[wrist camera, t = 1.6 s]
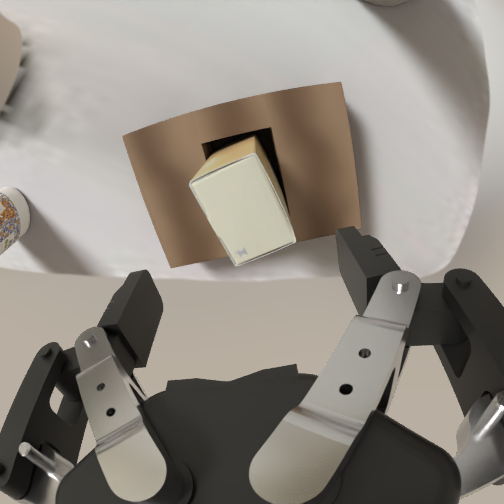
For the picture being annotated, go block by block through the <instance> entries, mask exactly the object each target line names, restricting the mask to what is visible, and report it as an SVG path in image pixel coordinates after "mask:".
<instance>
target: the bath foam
mask: <svg viewBox="0 0 504 504" xmlns="http://www.w3.org/2000/svg"><path fill="white" fill-rule="evenodd" d="M29 224H30V212H29V207H28V204H27V202H26V200H25V198H24V197H23V195H22V194H21V193H20V192H19V191H18V190H17V189H15V188H13V187H3V188H1V189H0V255H1V254H2V253H3V252H4V251H6V250H7V249H8V248H9V247H10V246H11V245H12V244H13V243H15V242H16V241H17V240H18V239H19V238H20V237H21V236H22V235H24V234H25V232H26V231H27V229H28V227H29Z"/></svg>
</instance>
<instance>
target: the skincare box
mask: <svg viewBox="0 0 504 504" xmlns="http://www.w3.org/2000/svg"><path fill="white" fill-rule="evenodd" d="M189 186H190V188H191V190H192V192H193V194H194V195H195V197H196V199H197V201H198V203H199V205H200V206H201V208H202V210H203V212H204V213H205V215H206V217H207V219H208V221H209V223H210V224H211V226H212V228H213V230H214V231H215V233H216V235H217V236H218V238H219V239H220V241H221V243H222V245H223V247H224V248H225V250H226V252H227V253H228V255H229V257H230V258H231V260H232V262H233V264H234V265H235V266H240V265H243V264H245V263H248V262H251V261H253V260H255V259H258V258H261V257H263V256H266V255H268V254H271V253H273V252H275V251H278V250H280V249H282V248H285V247H286V246H289V245H291V244H293V243H295V242H296V237H295V234H294V231H293V227H292V224H291V220H290V217H289V213H288V210H287V206H286V203H285V199H284V196H283V192H282V189H281V186H280V183H279V181H278V178H277V176H276V173H275V171H274V169H273V166H272V164H271V162H270V160H269V158H268V156H267V154H266V152H265V150H264V148H263V146H262V144H261V142H260V140H259V138H258V136H257V134H256V133H255V132H253V133H250V134H248V135H245V136H243V137H241V138H238V139H236V140H234V141H232V142H229V143H227V144H225V145H223V146H221V147H219V148H217V149H216V150H215V151H214V152H213V153H212V155H211V156H210V157H209V158H208V160H207V161H206V162H205V163H204V165H203V166H202V167H201V168H200V170H199V171H198V172H197V173H196V175H195V176H194V177H193V178H192V180H191V181H190V182H189Z"/></svg>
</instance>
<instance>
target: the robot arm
mask: <svg viewBox="0 0 504 504" xmlns="http://www.w3.org/2000/svg"><path fill="white" fill-rule="evenodd" d="M364 1H367V2H370V3H372V4H376V5H381V6H394V5H399V4H401V3H403V2H406V1H408V0H364ZM336 240H337V250H338V261H339V268H340V272H341V276H342V278H343V280H344V283H345V285H346V287H347V289H348V291H349V294H350V296H351V298H352V300H353V302H354V305H355V307H356V309H357V311H358V314H359V315H356V316H355V317H354V318H353V320H352V321H351V323H350V324H349V326H348V328H347V330H346V332H345V333H344V335H343V337H342V339H341V340H340V342H339V344H338V345H337V347H336V349H335V350H334V352H333V354H332V356H331V357H330V359H329V360H328V362H327V364H326V365H325V367H324V368H323V370H322V372H321V373H320V375H319V376H317V375H313V374H302V373H298V370H297V365H296V364H293V365H287V366H282V367H276V368H271V369H264V370H261V371H258V372H255V373H252V374H250V375H247V376H244V377H241V378H238V379H235V380H232V381H227V382H226V381H216V380H206V379H198V378H195V379H183V380H171V381H168V383H167V387H166V391H163V392H160V393H157V394H155V395H153V396H152V397H150V398H148V396H147V395H146V393H145V391H144V390H143V388H142V386H141V384H140V382H139V381H138V379H137V377H136V376H135V374H134V373H133V369H134V368H140V367H141V368H142V367H146V364H147V360H148V357H149V354H150V351H151V347H152V343H153V341H154V337H155V334H156V331H157V328H158V325H159V322H160V319H161V316H162V312H163V303H162V299H161V296H160V294H159V292H158V290H157V288H156V286H155V284H154V282H153V279H152V277H151V275H150V273H149V272H148V271H147V270H141V271H136V272H132V273H130V274H129V275H128V277H127V279H126V281H125V283H124V284H123V286H121V287H120V289H119V290H117V292H116V293H115V294H114V296H113V297H112V300H111V302H110V303H109V305H108V306H107V309H106V310H105V312H104V314H103V316H102V318H101V320H100V321H99V323H98V325H97V327H92V328H89V329H87V330H86V331H84V332H83V333H82V334H81V335H80V336H79V337H78V338H77V340H76V342H75V347H73V348H70V349H67V350H64V351H63V350H62V348H61V347H60V346H59V344H58V343H56V342H52V343H48V344H47V345H45V346H44V347H42V348H41V349H40V350H39V352H38V353H37V354H36V356H35V358H34V360H33V362H32V364H31V366H30V368H29V370H28V372H27V374H26V376H25V378H24V380H23V382H22V384H21V386H20V388H19V390H18V392H17V395H16V397H15V399H14V401H13V404H12V406H11V408H10V410H9V413H8V415H7V418H6V420H5V422H4V425H3V427H2V430H1V433H0V491H2V492H4V493H5V494H7V495H8V496H10V497H11V498H12V499H13V500H15V501H17V502H19V503H20V504H458V503H459V500H460V499H462V498H464V497H467V496H469V495H471V494H473V493H475V492H477V491H479V490H481V489H483V488H485V487H487V486H489V485H491V484H493V485H502V484H504V307H503V306H502V304H501V303H500V302H499V300H498V299H497V298H496V297H495V296H494V294H493V293H492V292H491V290H490V289H489V288H488V287H487V286H486V284H485V283H484V282H483V281H482V279H481V278H480V277H479V276H478V275H477V274H476V273H474V272H472V271H470V270H467V269H453V270H450V271H449V272H447V273H446V274H445V276H444V282H443V283H421V281H420V279H419V278H418V277H417V276H416V275H415V274H413V273H411V272H408V271H402V270H401V269H400V268H399V266H398V265H397V264H396V262H395V261H394V260H393V258H392V257H391V256H390V254H388V252H387V251H386V249H385V248H383V245H382V244H381V243H380V242H379V240H377V239H375V238H374V237H372V236H370V235H366V236H361V234H360V233H359V232H358V230H357V229H356V228H355V226H350V227H346V228H341V229H337V230H336ZM419 345H420V346H421V345H433V346H434V348H435V350H436V352H437V354H438V356H439V358H440V360H441V363H442V365H443V367H444V369H445V371H446V373H447V376H448V378H449V380H450V383H451V385H452V387H453V390H454V392H455V394H456V397H457V399H458V402H459V404H460V406H461V409H462V411H463V414H464V417H465V418H464V419H463V421H462V422H461V424H460V426H459V428H458V431H457V435H456V438H457V445H458V447H457V448H458V450H457V454H456V457H455V458H452V457H451V456H450V454H449V453H447V452H446V451H445V450H444V449H442V448H441V447H439V446H437V445H435V444H434V443H432V442H430V441H428V440H427V439H425V438H423V437H422V436H420V435H418V434H416V433H415V432H413V431H411V430H410V429H408V428H407V427H405V426H403V425H402V424H400V423H398V422H397V421H395V420H393V419H392V418H390V417H389V416H387V415H386V414H387V412H388V410H389V407H390V405H391V402H392V399H393V396H394V393H395V390H396V387H397V385H398V382H399V379H400V377H401V374H402V371H403V369H404V366H405V363H406V360H407V358H408V355H409V352H410V349H411V346H419ZM54 387H56V388H57V389H58V390H59V391H60V392H61V393H62V394H63V395H64V396H63V399H62V401H61V404H60V407H59V410H58V413H57V414H55V413H54V412H53V411H52V409H51V407H50V403H49V401H50V397H51V394H52V392H53V389H54ZM88 420H89V423H90V426H91V428H92V431H93V434H94V437H95V440H96V443H97V446H96V447H95V448H94V449H93V450H92V451H91V452H90V453H89V454H88V455H86V456H85V457H84V458H83V459H82V460H81V461H80V462H79V463H78V464H77V460H78V456H79V451H80V447H81V443H82V440H83V436H84V432H85V428H86V424H87V421H88ZM76 464H77V465H76Z"/></svg>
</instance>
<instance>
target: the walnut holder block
mask: <svg viewBox="0 0 504 504" xmlns="http://www.w3.org/2000/svg"><path fill="white" fill-rule="evenodd" d="M268 127H269V129H270V134H271V138H272V142H273V147H274V151H275V156H276V160H277V165H278V169H279V174H280V179H281V183H282V188H283V193H284V199H285V203H286V206H287V210H288V213H289V217H290V220H291V224H292V227H293V231H294V234H295V237H296V242H299V241H304V240H309V239H314V238H318V237H323V236H328V235H333V234H336V230H337V229H341V228H346V227H350V226H355V228H356V229H361V218H360V206H359V195H358V186H357V177H356V168H355V161H354V153H353V146H352V139H351V133H350V127H349V121H348V115H347V109H346V104H345V98H344V93H343V88H342V84H341V82H336V83H328V84H320V85H313V86H306V87H299V88H293V89H288V90H282V91H277V92H271V93H266V94H261V95H257V96H252V97H248V98H243V99H239V100H235V101H231V102H227V103H223V104H219V105H215V106H211V107H208V108H204V109H201V110H197V111H194V112H190V113H187V114H184V115H180V116H177V117H174V118H171V119H168V120H165V121H162V122H159V123H156V124H153V125H150V126H148V127H145V128H142V129H139V130H137V131H134V132H131V133H129V134H126V135H124V136H122V137H123V140H124V143H125V147H126V150H127V153H128V156H129V159H130V162H131V165H132V168H133V171H134V173H135V176H136V179H137V182H138V185H139V188H140V190H141V193H142V196H143V199H144V201H145V204H146V207H147V209H148V212H149V215H150V217H151V220H152V223H153V225H154V228H155V230H156V233H157V235H158V238H159V240H160V243H161V245H162V248H163V250H164V253H165V255H166V258H167V260H168V262H169V265H170V267H171V268H175V267H179V266H184V265H189V264H194V263H199V262H203V261H208V260H213V259H218V258H222V257H227V256H229V255H228V253H227V252H226V250H225V248H224V247H223V245H222V243H221V241H220V239H219V238H218V236H217V235H216V233H215V231H214V230H213V228H212V226H211V224H210V223H209V221H208V219H207V217H206V215H205V213H204V212H203V210H202V208H201V206H200V205H199V203H198V201H197V199H196V197H195V195H194V194H193V192H192V190H191V188H190V186H189V182H190V181H191V180H192V178H193V177H194V176H195V175H196V173H197V172H198V171H199V170H200V168H201V167H202V166H203V165H204V163H205V162H206V161H207V160H208V158H209V157H210V156H211V155H212V153H213V151H212V147H211V144H210V141H213V140H217V139H221V138H225V137H229V136H233V135H237V134H241V133H246V132H250V131H254V130H259V129H264V128H268Z"/></svg>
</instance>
